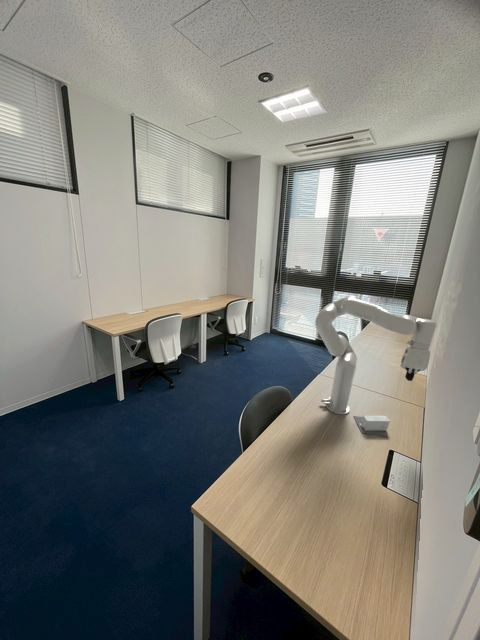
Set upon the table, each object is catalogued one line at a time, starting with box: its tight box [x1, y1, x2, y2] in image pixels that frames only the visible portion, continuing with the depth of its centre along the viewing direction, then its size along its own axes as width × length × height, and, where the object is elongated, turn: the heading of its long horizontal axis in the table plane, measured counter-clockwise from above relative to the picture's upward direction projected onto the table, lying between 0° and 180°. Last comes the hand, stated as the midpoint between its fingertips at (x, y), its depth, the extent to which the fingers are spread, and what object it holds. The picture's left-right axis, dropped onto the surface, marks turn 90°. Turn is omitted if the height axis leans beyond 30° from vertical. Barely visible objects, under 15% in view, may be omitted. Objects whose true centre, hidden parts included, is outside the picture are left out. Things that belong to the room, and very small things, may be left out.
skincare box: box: [361, 415, 391, 431], centre depth 132 cm, size 6×4×12 cm
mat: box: [353, 415, 388, 438], centre depth 134 cm, size 12×13×1 cm
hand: (408, 379), depth 128 cm, fingers closed
